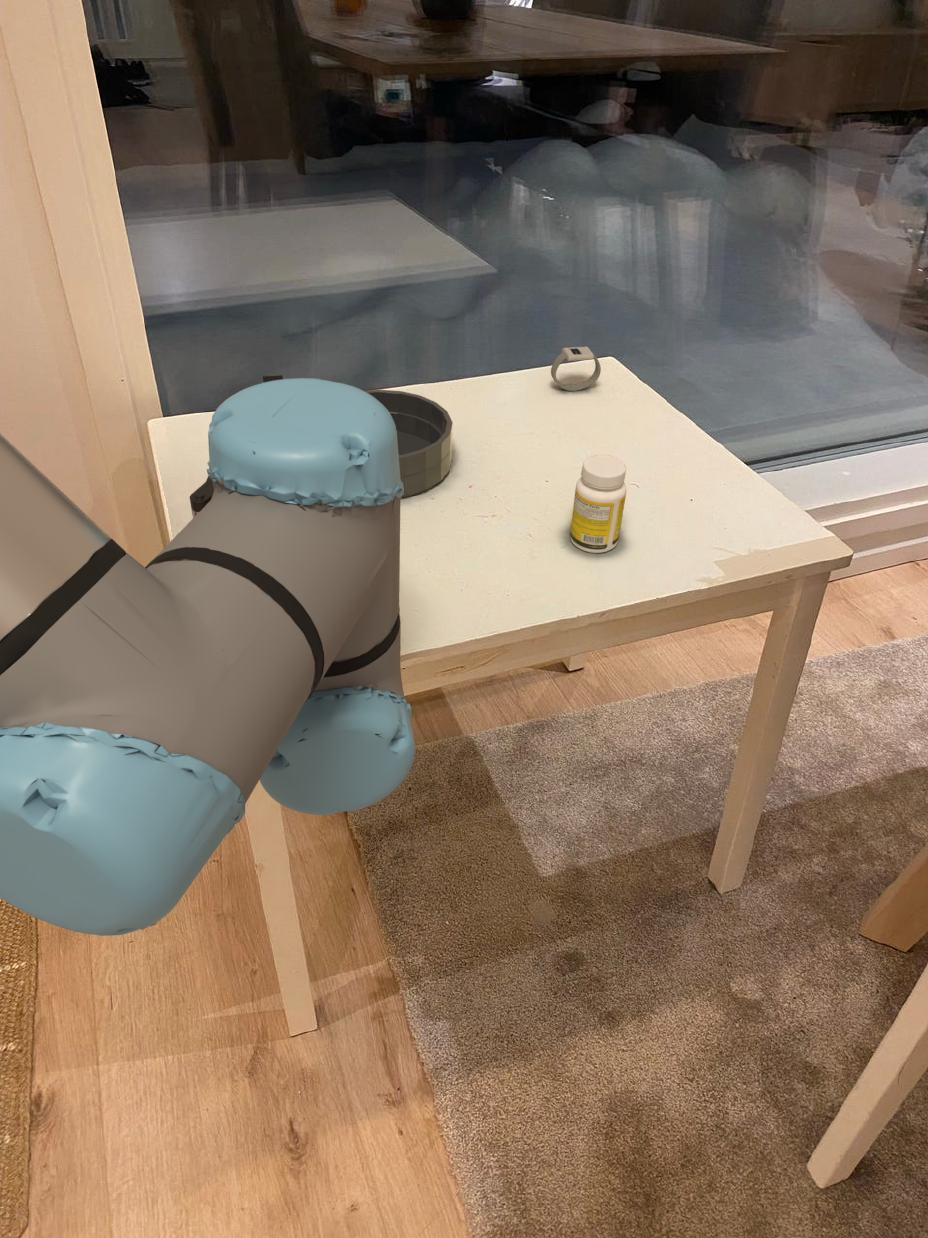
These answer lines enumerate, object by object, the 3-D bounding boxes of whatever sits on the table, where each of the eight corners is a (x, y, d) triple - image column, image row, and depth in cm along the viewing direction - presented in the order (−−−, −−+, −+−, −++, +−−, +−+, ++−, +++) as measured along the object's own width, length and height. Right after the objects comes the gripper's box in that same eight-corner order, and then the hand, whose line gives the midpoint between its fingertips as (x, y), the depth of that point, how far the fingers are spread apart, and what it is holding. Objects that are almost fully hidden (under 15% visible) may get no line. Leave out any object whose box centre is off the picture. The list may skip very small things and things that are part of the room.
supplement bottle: (598, 521, 89) (610, 447, 84) (627, 545, 86) (641, 470, 81) (559, 534, 87) (568, 459, 82) (587, 559, 84) (599, 483, 79)
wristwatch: (593, 382, 114) (598, 345, 110) (600, 392, 112) (605, 354, 108) (547, 385, 112) (551, 347, 109) (553, 395, 110) (557, 356, 107)
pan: (318, 508, 89) (315, 465, 86) (303, 435, 100) (299, 395, 97) (465, 494, 92) (467, 451, 89) (434, 425, 103) (435, 385, 100)
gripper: (199, 636, 53) (194, 441, 70) (414, 611, 55) (358, 429, 73) (179, 532, 48) (179, 350, 65) (416, 510, 50) (355, 341, 68)
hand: (274, 392), depth 69 cm, fingers closed
